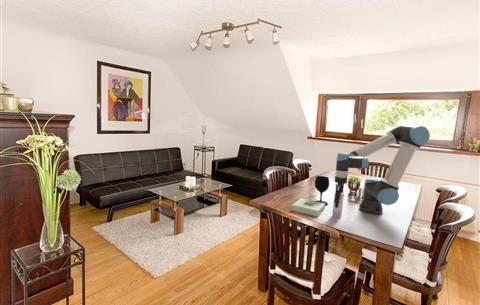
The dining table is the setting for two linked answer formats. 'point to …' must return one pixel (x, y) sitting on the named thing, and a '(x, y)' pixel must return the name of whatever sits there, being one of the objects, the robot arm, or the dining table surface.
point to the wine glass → (321, 186)
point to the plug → (339, 214)
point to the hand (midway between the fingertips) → (337, 209)
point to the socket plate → (308, 207)
